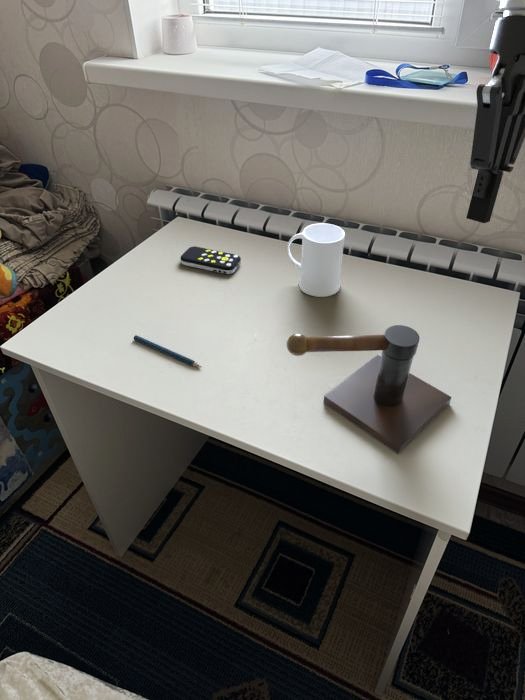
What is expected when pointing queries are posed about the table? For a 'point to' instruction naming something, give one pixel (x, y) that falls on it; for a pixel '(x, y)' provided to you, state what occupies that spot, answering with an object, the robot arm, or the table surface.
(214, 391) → the table surface
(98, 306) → the table surface
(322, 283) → the mug
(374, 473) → the table surface
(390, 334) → the handle
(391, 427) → the valve stand
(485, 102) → the robot arm
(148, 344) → the pencil
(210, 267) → the remote control
